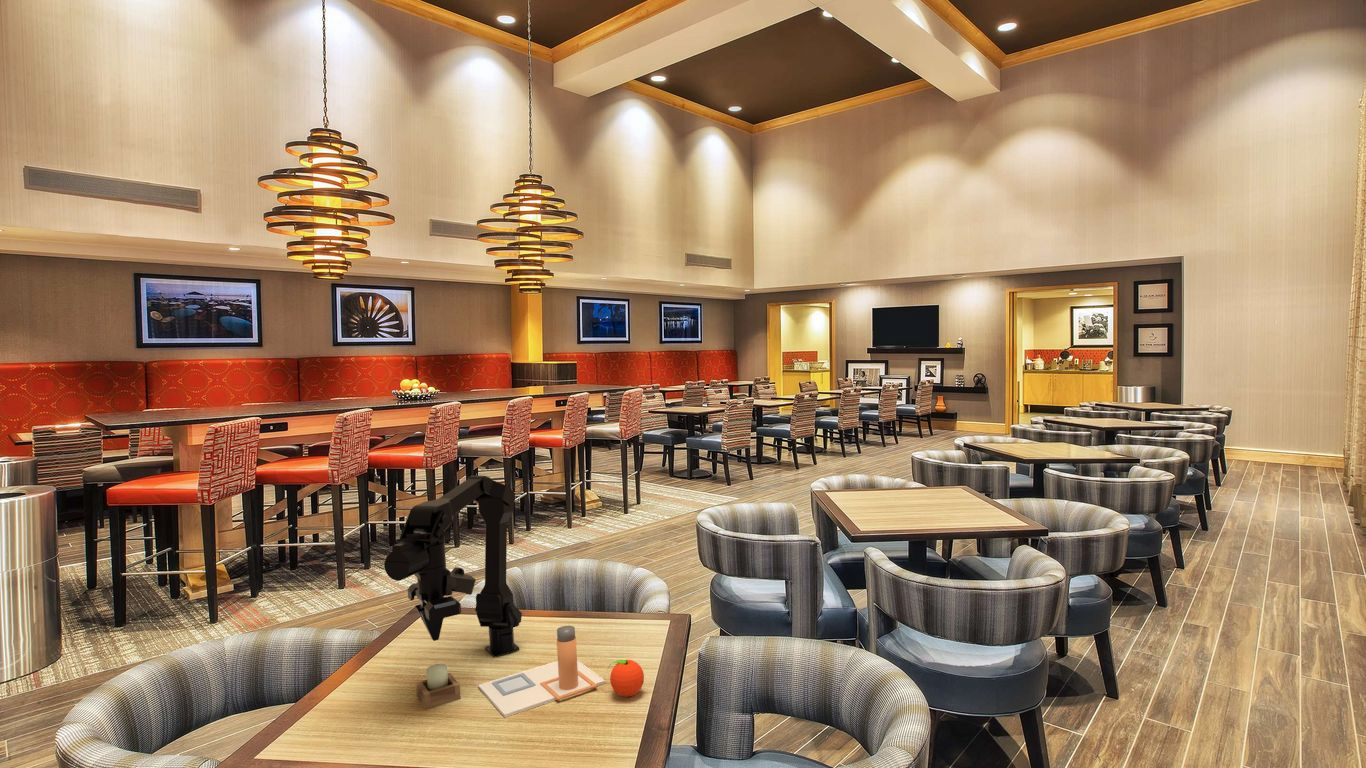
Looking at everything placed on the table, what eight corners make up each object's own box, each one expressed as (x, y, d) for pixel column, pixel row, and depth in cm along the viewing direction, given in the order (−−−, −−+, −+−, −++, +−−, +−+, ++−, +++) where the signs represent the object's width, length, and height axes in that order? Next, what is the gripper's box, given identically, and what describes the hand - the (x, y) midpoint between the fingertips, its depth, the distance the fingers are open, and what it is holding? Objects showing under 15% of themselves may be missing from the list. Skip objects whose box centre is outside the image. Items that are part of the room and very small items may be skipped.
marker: (555, 688, 142) (552, 631, 142) (565, 680, 146) (562, 624, 145) (572, 691, 141) (569, 633, 140) (581, 682, 144) (579, 626, 144)
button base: (416, 696, 143) (416, 682, 143) (450, 686, 147) (450, 672, 147) (425, 709, 137) (424, 694, 137) (460, 698, 141) (459, 684, 141)
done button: (425, 686, 142) (424, 667, 142) (445, 680, 144) (444, 661, 144) (430, 693, 139) (429, 674, 139) (450, 687, 141) (449, 668, 141)
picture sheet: (478, 687, 145) (478, 683, 145) (572, 658, 158) (572, 654, 158) (507, 720, 131) (507, 716, 131) (608, 685, 144) (608, 681, 143)
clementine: (600, 699, 138) (598, 664, 138) (615, 684, 144) (614, 651, 144) (635, 705, 135) (634, 669, 135) (650, 689, 141) (648, 655, 141)
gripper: (484, 567, 138) (488, 643, 138) (457, 549, 153) (461, 617, 154) (427, 579, 132) (432, 658, 132) (405, 559, 147) (409, 630, 147)
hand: (435, 639), depth 141 cm, fingers closed
